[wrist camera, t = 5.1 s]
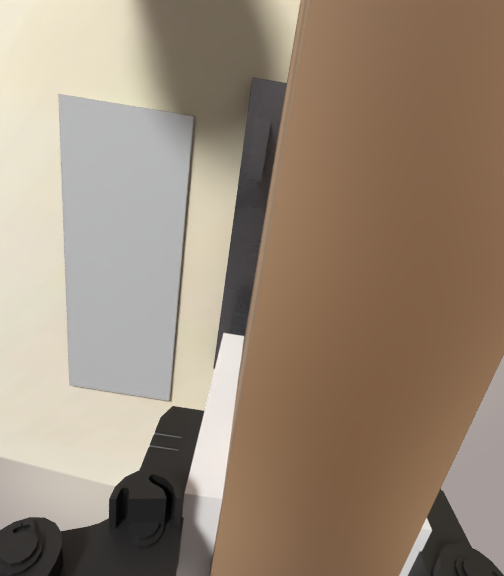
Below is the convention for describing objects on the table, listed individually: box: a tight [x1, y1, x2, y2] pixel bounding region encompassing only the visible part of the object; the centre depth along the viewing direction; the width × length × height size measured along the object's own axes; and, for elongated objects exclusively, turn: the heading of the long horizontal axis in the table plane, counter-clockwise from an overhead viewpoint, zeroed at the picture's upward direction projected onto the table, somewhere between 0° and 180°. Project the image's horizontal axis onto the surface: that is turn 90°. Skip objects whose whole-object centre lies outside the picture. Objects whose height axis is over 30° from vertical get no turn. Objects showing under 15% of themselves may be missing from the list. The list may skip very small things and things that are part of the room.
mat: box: [58, 94, 194, 401], centre depth 32 cm, size 10×26×1 cm, turn 171°
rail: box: [209, 0, 504, 576], centre depth 9 cm, size 3×22×5 cm, turn 171°
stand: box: [213, 78, 287, 369], centre depth 26 cm, size 8×24×9 cm, turn 171°
